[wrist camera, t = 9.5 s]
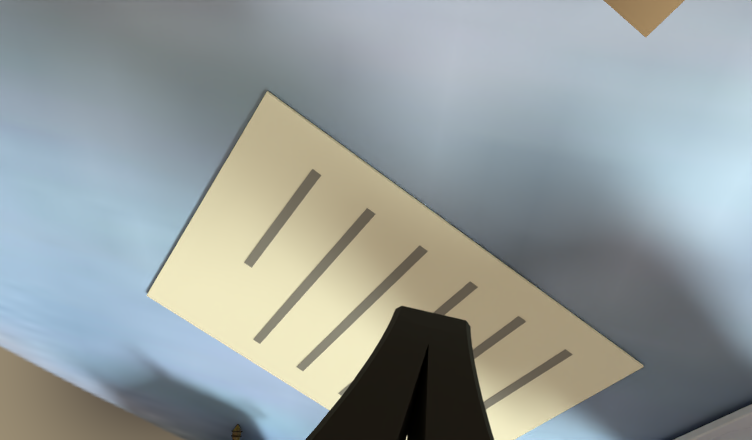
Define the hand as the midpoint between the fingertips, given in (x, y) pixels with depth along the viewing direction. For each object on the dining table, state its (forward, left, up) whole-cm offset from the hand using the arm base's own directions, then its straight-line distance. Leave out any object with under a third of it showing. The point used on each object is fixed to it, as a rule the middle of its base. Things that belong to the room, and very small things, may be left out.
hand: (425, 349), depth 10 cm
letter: (-3, +9, -10) cm, 14 cm away
